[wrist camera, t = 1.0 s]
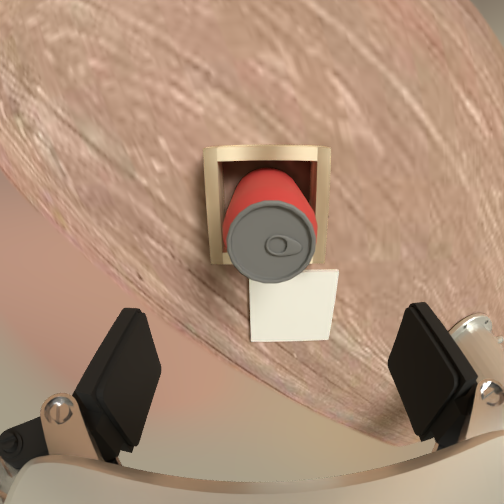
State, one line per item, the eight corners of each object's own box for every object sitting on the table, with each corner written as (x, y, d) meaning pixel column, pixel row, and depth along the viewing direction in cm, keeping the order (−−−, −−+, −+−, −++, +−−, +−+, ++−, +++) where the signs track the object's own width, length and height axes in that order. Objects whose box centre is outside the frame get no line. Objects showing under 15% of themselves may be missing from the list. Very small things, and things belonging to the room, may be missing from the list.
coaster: (337, 269, 31) (338, 271, 31) (327, 336, 36) (328, 339, 35) (249, 270, 32) (248, 272, 31) (251, 338, 36) (251, 341, 35)
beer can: (293, 234, 30) (310, 296, 19) (230, 225, 30) (213, 283, 19) (305, 172, 27) (335, 202, 16) (238, 162, 27) (223, 184, 16)
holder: (322, 145, 26) (331, 148, 23) (318, 249, 30) (324, 263, 27) (209, 146, 26) (202, 148, 23) (216, 249, 31) (211, 264, 28)
